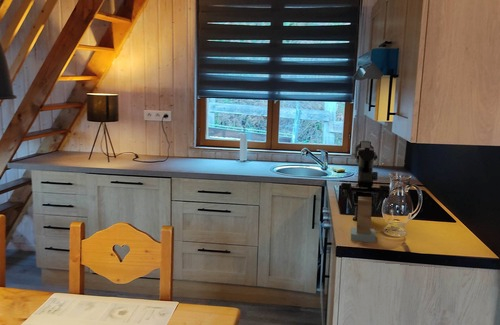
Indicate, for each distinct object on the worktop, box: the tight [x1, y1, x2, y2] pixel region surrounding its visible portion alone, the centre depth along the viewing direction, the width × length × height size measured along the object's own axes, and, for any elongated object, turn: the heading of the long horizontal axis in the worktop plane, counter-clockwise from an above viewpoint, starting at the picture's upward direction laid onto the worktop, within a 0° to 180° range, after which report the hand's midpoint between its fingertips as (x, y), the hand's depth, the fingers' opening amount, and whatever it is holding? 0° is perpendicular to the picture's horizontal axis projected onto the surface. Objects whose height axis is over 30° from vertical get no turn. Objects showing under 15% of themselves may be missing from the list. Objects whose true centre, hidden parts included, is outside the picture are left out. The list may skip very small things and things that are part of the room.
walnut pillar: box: [356, 196, 373, 234], centre depth 171 cm, size 5×5×13 cm
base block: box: [350, 226, 377, 243], centre depth 173 cm, size 9×9×3 cm
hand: (364, 208), depth 173 cm, fingers open, 9 cm apart
